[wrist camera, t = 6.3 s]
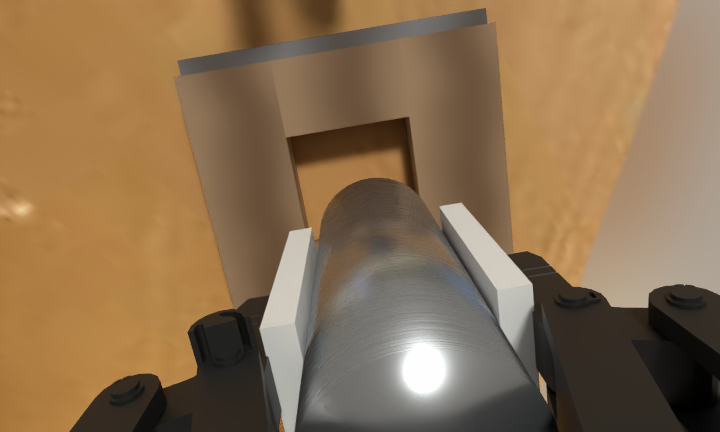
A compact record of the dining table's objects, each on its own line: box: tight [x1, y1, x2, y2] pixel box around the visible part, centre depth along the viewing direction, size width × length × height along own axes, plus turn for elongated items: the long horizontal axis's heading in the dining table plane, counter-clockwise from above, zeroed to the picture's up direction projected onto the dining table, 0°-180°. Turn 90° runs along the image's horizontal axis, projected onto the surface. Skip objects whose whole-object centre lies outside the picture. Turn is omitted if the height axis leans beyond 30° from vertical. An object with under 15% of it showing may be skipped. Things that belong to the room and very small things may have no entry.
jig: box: [173, 8, 514, 309], centre depth 28 cm, size 16×16×2 cm
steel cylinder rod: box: [295, 178, 559, 432], centre depth 14 cm, size 4×4×12 cm
